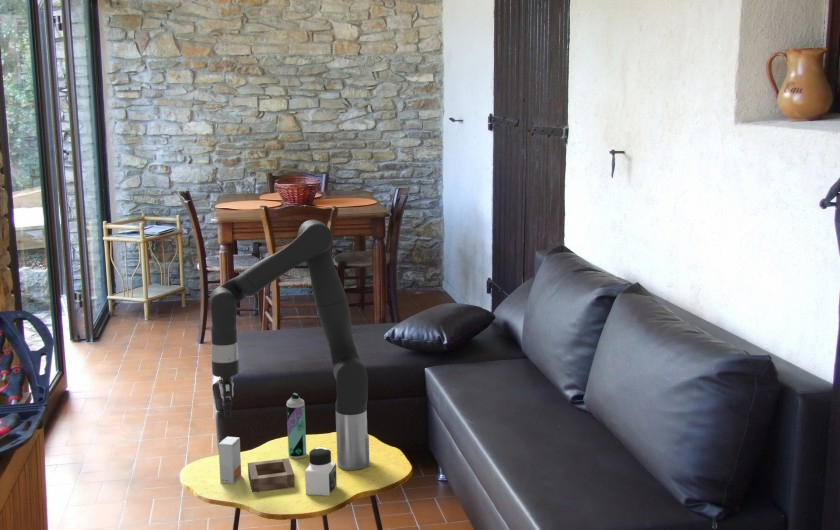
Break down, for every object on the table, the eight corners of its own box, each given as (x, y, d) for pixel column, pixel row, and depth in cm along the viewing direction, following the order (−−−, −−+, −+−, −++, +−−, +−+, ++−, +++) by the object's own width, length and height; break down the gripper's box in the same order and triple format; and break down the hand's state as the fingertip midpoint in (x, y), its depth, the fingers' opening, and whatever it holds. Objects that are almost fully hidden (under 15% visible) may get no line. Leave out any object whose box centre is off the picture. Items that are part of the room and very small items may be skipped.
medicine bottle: (330, 496, 247) (328, 455, 245) (305, 494, 249) (303, 454, 246) (337, 485, 254) (335, 445, 252) (312, 484, 255) (311, 444, 253)
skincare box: (233, 484, 256) (231, 444, 254) (220, 483, 257) (217, 443, 255) (242, 475, 262) (240, 437, 260) (228, 474, 263) (226, 436, 260)
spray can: (291, 451, 279) (288, 390, 276) (308, 452, 278) (306, 391, 275) (286, 458, 274) (283, 396, 270) (303, 459, 273) (301, 396, 269)
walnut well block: (289, 470, 265) (288, 458, 264) (294, 487, 253) (294, 474, 253) (248, 475, 262) (247, 462, 261) (252, 492, 250) (251, 479, 249)
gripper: (240, 363, 247) (242, 419, 250) (236, 350, 260) (238, 403, 263) (212, 366, 245) (215, 422, 248) (210, 352, 258) (212, 405, 261)
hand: (227, 412), depth 256 cm, fingers open, 8 cm apart
